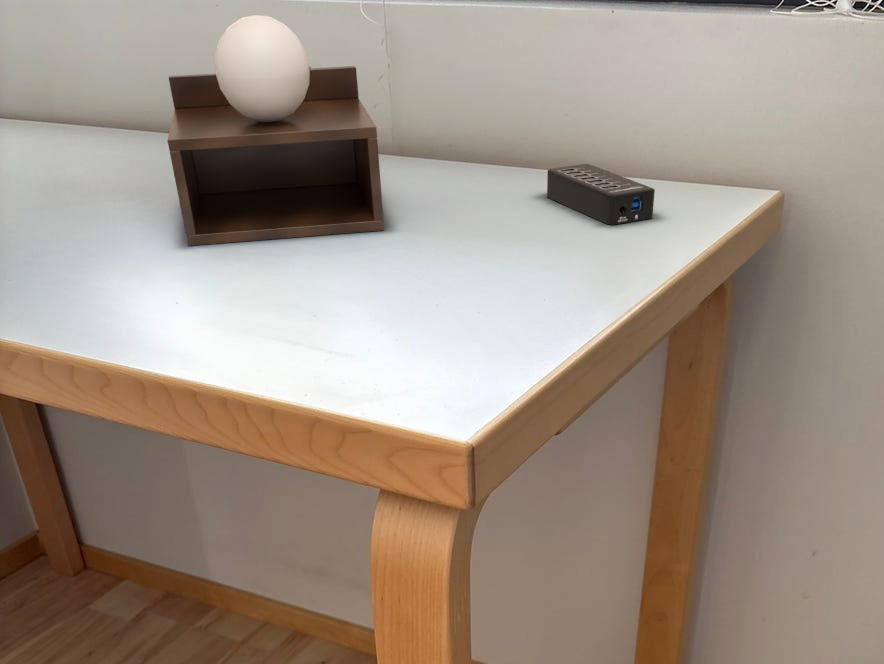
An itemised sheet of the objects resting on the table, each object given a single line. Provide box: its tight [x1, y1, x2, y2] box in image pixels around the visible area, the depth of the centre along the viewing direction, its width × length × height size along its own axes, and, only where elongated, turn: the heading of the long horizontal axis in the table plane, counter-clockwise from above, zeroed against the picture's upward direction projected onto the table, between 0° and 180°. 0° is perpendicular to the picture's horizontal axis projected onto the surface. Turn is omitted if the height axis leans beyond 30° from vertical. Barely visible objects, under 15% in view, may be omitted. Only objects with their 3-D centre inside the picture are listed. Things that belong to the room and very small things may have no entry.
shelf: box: [166, 65, 385, 247], centre depth 83 cm, size 16×14×10 cm
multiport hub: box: [546, 163, 656, 226], centre depth 86 cm, size 4×11×2 cm, turn 27°
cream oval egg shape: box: [214, 14, 312, 122], centre depth 79 cm, size 10×7×7 cm
